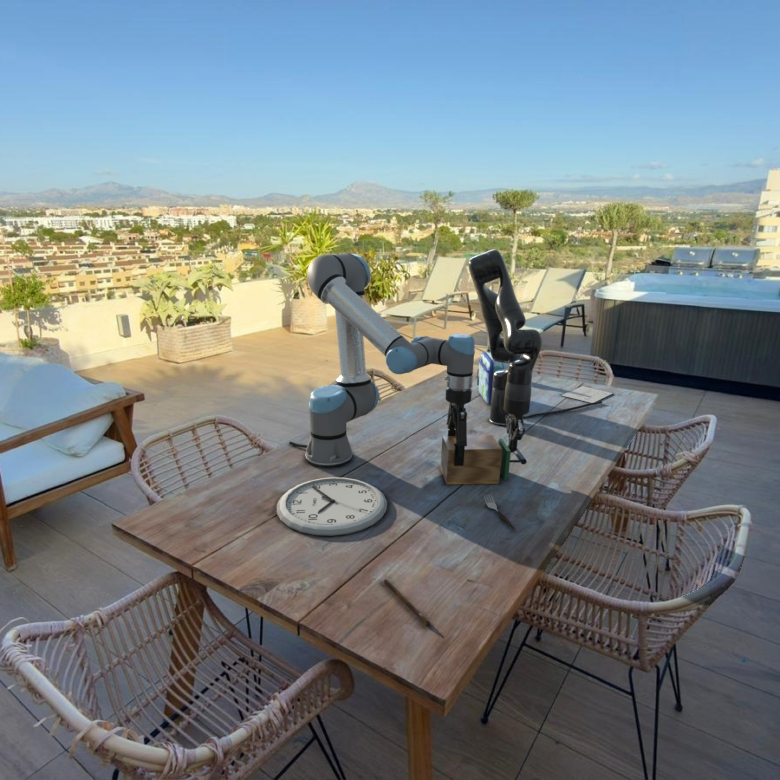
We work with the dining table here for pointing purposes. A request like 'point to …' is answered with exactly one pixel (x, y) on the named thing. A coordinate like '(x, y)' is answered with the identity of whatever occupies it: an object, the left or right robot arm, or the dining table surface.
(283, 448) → the dining table surface
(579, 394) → the invitation card
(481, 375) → the lunch box
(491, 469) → the open wooden box
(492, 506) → the fork
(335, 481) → the wall clock
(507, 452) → the drawer
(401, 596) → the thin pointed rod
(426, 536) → the dining table surface
